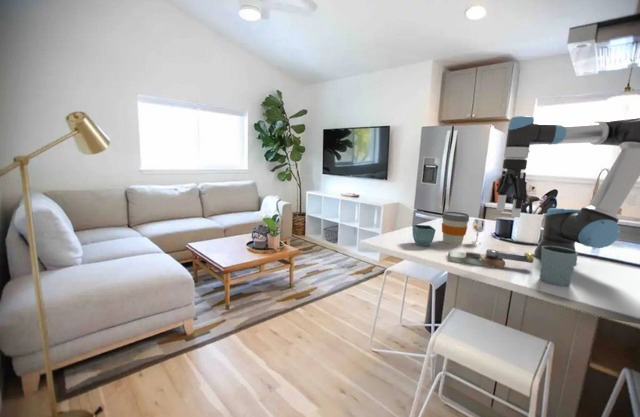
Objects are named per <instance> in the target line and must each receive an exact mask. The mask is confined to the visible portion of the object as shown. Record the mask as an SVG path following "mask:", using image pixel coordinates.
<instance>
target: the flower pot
mask: <svg viewBox="0 0 640 417" xmlns="http://www.w3.org/2000/svg"><path fill="white" fill-rule="evenodd" d="M436 230H437V229H435V227H432V226H431V225H428V224H427V225H423V224H412V238H413V241H414V243H415V244H416V245H417V246H421V247H422V246H424V247H429V246H430V245H431V243H432V242H433V241H434V238H435V234H436Z"/></svg>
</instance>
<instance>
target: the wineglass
mask: <svg viewBox="0 0 640 417" xmlns="http://www.w3.org/2000/svg"><path fill="white" fill-rule="evenodd" d="M485 228H486V222H485V220H483V219H474V220H473V222H472V226H471V229H472V230H473V231H474V232H475V233H476V239H475V241H471V244H475V245H481V244H482V243H481V242H479V240H478V238H479V237H478V236H479V234H480V233H483V232H484V231H485Z"/></svg>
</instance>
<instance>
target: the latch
mask: <svg viewBox="0 0 640 417" xmlns="http://www.w3.org/2000/svg"><path fill="white" fill-rule="evenodd" d="M485 252H486V253H485V254H486V256H487V257H489V258H499V259H503V260H509V261H515V262H522V263H523V262H524V263H529V264H533V263H534V259H535V255H534V253H532V252H524V253H517V252H510V251H501V250H495V249H486V251H485Z"/></svg>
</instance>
